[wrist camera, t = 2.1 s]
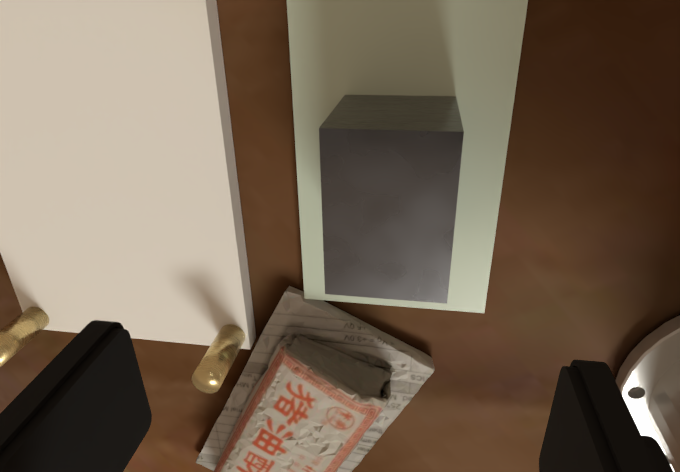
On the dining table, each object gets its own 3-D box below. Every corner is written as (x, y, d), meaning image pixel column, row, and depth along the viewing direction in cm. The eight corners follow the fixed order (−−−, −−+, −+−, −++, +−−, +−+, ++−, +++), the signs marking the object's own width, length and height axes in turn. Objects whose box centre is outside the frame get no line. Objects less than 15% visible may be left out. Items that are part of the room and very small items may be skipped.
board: (525, -19, 21) (567, -20, 14) (482, 300, 28) (497, 393, 22) (292, -15, 22) (237, -14, 16) (309, 287, 29) (275, 370, 23)
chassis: (210, -51, 22) (150, -60, 17) (256, 337, 31) (226, 397, 27) (-87, -41, 24) (-209, -47, 19) (41, 317, 33) (-21, 369, 29)
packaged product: (302, 568, 34) (171, 508, 34) (317, 504, 38) (201, 449, 38) (437, 412, 26) (265, 327, 25) (437, 351, 30) (290, 277, 29)
